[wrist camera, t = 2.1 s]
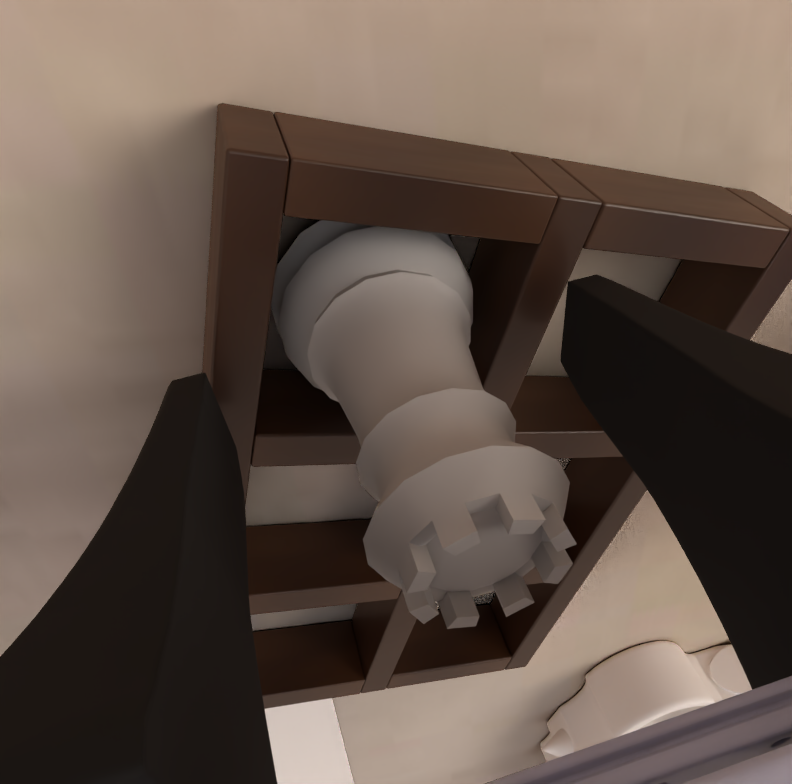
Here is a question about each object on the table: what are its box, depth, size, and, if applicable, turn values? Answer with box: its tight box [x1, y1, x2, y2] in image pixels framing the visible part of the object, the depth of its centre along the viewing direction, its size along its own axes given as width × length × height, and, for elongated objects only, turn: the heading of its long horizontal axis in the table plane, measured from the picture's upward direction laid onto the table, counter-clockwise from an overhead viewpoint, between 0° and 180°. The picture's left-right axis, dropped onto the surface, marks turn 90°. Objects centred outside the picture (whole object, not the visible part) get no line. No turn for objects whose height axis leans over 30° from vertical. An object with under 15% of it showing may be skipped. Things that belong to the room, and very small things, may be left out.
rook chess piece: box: [271, 220, 576, 629], centre depth 12 cm, size 4×4×8 cm
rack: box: [202, 103, 792, 709], centre depth 18 cm, size 13×19×2 cm
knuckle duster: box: [540, 641, 752, 762], centre depth 38 cm, size 3×18×15 cm
